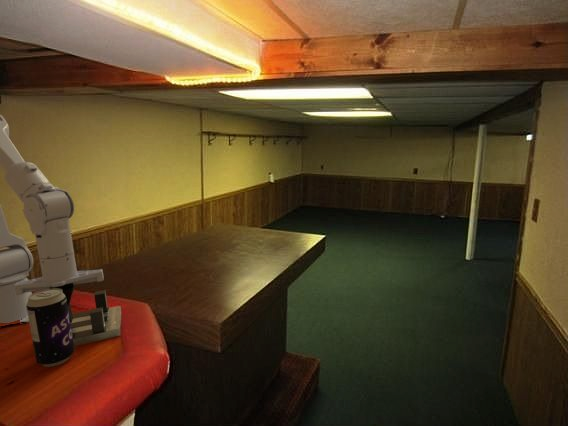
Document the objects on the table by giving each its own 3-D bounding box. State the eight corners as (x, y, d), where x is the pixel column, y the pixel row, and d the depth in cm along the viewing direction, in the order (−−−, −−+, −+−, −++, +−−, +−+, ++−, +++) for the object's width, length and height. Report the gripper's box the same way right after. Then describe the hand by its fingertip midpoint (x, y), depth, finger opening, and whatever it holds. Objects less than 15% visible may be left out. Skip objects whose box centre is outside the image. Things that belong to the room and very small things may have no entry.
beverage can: (57, 370, 61) (45, 301, 59) (28, 368, 62) (16, 300, 60) (82, 351, 67) (72, 287, 65) (55, 350, 68) (44, 287, 66)
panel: (48, 325, 78) (43, 300, 77) (121, 311, 83) (117, 287, 82) (34, 355, 66) (29, 325, 65) (120, 336, 72) (116, 309, 71)
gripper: (4, 266, 65) (18, 339, 67) (97, 253, 70) (107, 321, 73) (15, 256, 71) (28, 323, 74) (100, 245, 77) (109, 307, 79)
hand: (68, 321), depth 74 cm, fingers closed
